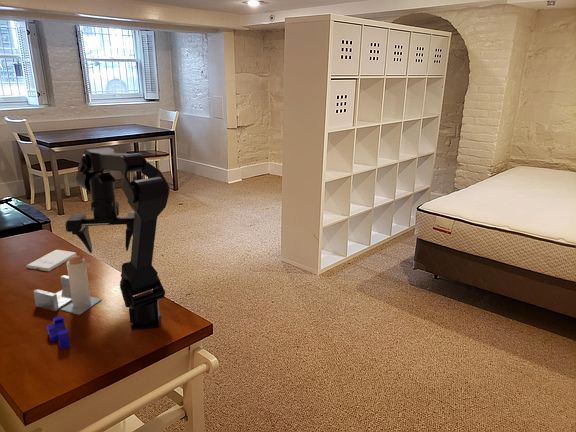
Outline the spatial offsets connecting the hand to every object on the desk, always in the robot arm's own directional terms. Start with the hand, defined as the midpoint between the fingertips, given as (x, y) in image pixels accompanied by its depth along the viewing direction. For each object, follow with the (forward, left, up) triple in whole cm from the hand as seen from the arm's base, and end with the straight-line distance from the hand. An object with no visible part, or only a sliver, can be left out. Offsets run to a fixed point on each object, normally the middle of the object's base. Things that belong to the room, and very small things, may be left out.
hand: (109, 251), depth 117 cm
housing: (+13, +1, -13) cm, 19 cm away
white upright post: (+7, +5, -13) cm, 16 cm away
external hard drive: (+22, -25, -14) cm, 36 cm away
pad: (+7, +5, -13) cm, 16 cm away
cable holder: (+9, +20, -14) cm, 26 cm away
